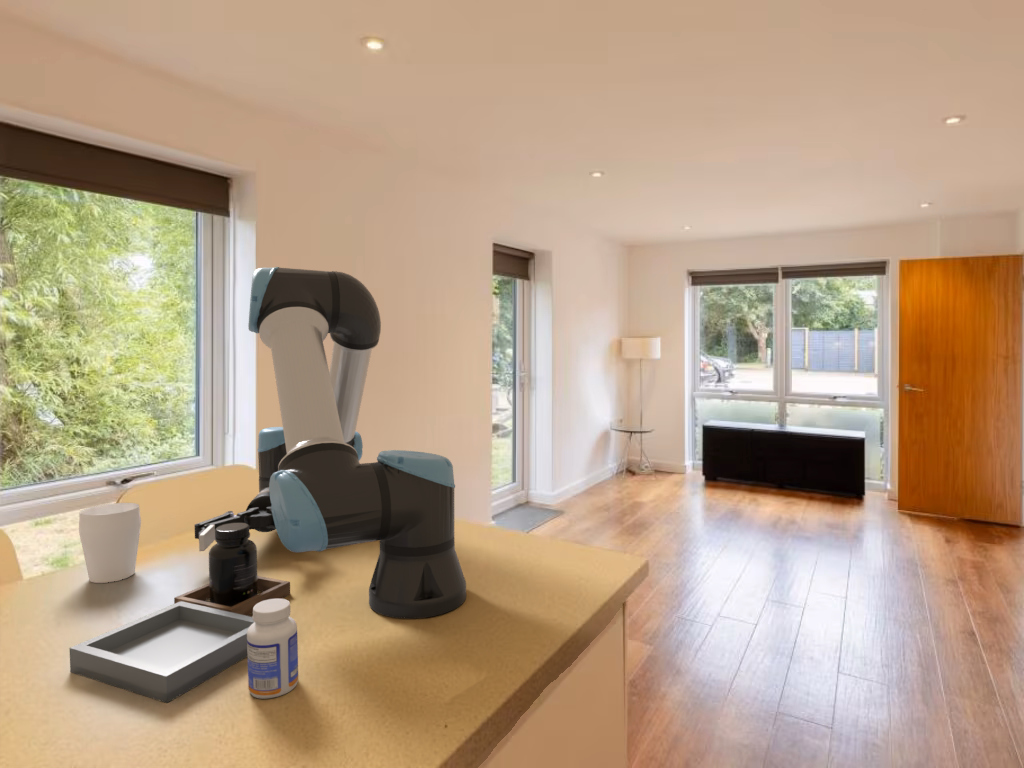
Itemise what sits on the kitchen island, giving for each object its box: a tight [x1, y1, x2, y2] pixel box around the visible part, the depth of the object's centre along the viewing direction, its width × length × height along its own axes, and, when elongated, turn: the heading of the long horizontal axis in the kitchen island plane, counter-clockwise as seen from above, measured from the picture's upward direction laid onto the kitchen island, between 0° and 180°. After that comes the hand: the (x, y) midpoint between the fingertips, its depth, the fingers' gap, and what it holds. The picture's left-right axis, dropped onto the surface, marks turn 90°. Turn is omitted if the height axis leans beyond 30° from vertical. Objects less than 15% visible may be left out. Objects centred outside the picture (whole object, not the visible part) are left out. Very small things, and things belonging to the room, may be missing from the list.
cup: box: [78, 502, 142, 584], centre depth 104 cm, size 9×9×12 cm
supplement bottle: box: [208, 523, 259, 607], centre depth 93 cm, size 7×7×12 cm
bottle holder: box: [173, 575, 291, 616], centre depth 93 cm, size 12×12×2 cm
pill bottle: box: [247, 598, 299, 700], centre depth 69 cm, size 5×5×10 cm
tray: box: [68, 601, 254, 704], centre depth 76 cm, size 17×15×3 cm
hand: (244, 540), depth 101 cm, fingers open, 13 cm apart
